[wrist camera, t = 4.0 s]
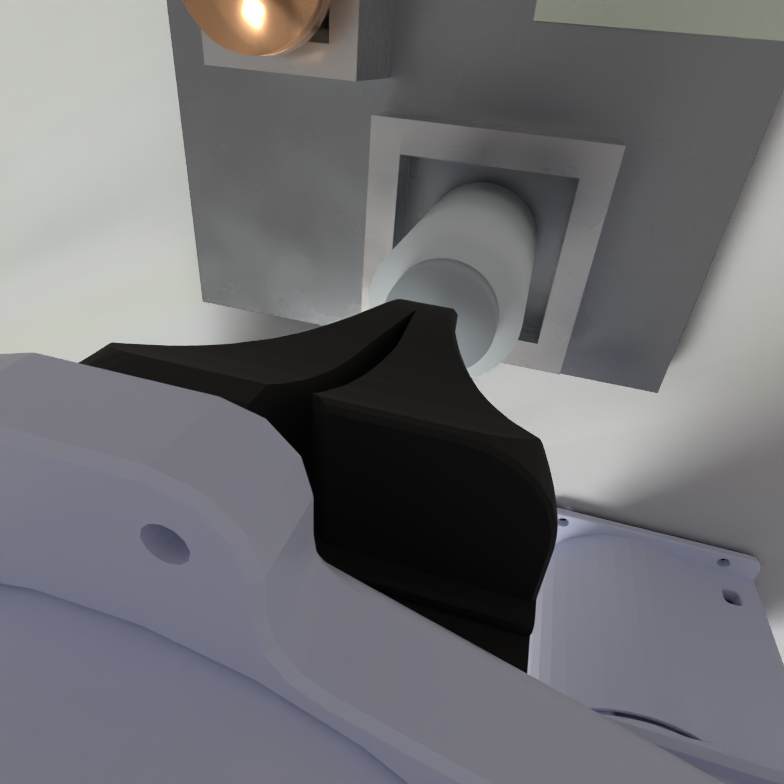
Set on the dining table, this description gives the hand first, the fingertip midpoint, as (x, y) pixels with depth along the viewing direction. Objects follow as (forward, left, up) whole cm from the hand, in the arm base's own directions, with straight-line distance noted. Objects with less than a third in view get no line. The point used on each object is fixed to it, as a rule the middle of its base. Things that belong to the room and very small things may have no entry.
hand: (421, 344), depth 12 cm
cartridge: (0, 0, -9) cm, 9 cm away
